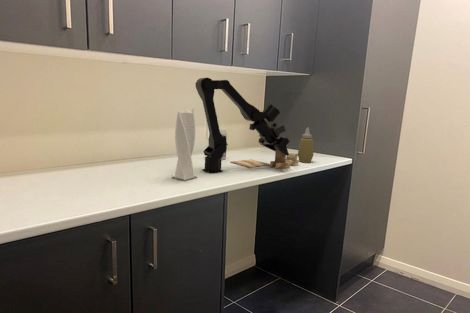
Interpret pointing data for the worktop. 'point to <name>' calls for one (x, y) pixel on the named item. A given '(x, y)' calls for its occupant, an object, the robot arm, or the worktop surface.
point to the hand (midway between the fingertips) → (283, 153)
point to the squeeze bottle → (306, 147)
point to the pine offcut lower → (292, 162)
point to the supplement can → (223, 132)
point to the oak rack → (280, 165)
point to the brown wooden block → (279, 157)
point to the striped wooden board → (250, 163)
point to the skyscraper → (185, 144)
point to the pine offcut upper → (292, 156)
